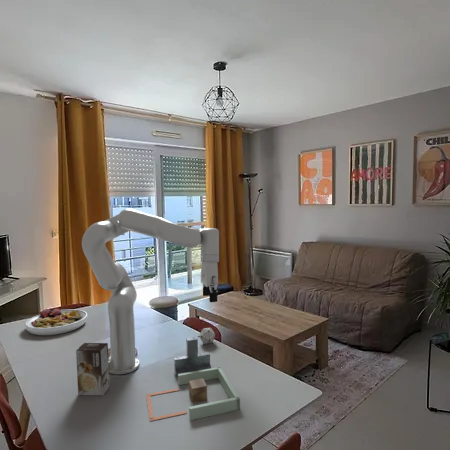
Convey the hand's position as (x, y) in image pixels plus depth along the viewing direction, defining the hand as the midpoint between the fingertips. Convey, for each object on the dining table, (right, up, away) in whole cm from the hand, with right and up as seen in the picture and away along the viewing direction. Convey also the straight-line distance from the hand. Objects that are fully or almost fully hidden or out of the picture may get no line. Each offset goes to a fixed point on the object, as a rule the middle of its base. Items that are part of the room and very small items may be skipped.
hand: (209, 298), depth 132 cm
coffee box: (-40, -28, -20) cm, 53 cm away
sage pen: (0, -28, -23) cm, 36 cm away
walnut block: (-3, -28, -24) cm, 37 cm away
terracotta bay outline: (-13, -28, -28) cm, 42 cm away
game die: (-2, -26, +18) cm, 31 cm away
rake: (-7, -27, -7) cm, 29 cm away
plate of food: (-86, -26, +42) cm, 99 cm away
